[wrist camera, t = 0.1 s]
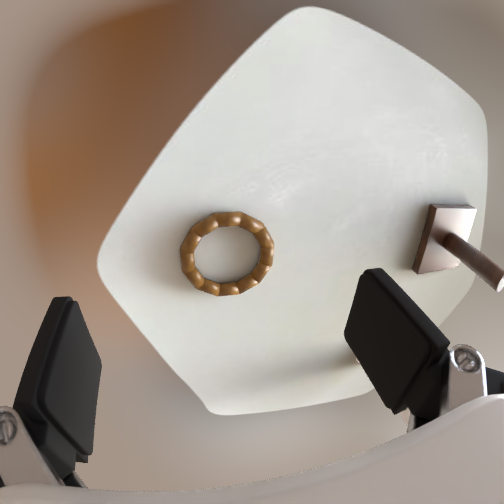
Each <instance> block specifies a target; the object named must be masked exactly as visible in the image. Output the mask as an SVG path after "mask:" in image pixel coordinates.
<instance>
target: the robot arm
mask: <svg viewBox="0 0 504 504" xmlns="http://www.w3.org/2000/svg"><path fill="white" fill-rule="evenodd" d="M344 337H345V340H346V341H347V343H348V345H349V346H350V348H351V349H352V351H353V353H354V354H355V356H356V358H357V359H358V361H359V363H360V364H361V366H362V367H363V369H364V371H365V372H366V374H367V376H368V377H369V379H370V381H371V382H372V384H373V386H374V387H375V389H376V391H377V392H378V394H379V396H380V397H381V399H382V401H383V402H384V404H385V406H386V407H387V408H389V409H391V410H392V412H393V413H394V415H395V414H397V413H400V412H402V411H404V410H406V409H407V408H408V409H409V410H410V417H409V423H408V428H407V433H406V434H404V435H402V436H400V437H398V438H395V439H393V440H391V441H389V442H386V443H384V444H382V445H379V446H377V447H374V448H372V449H369V450H367V451H364V452H362V453H359V454H357V455H354V456H351V457H348V458H345V459H342V460H339V461H336V462H333V463H330V464H327V465H324V466H320V467H317V468H314V469H310V470H307V471H303V472H299V473H295V474H291V475H287V476H283V477H279V478H274V479H269V480H264V481H259V482H253V483H247V484H241V485H235V486H227V487H220V488H211V489H200V490H188V491H164V492H137V491H111V490H97V489H88V488H87V486H86V485H85V484H84V483H83V481H82V480H81V479H80V477H79V476H78V475H77V473H76V472H75V462H83V463H88V455H91V454H92V452H93V439H94V425H95V415H96V405H97V398H98V390H99V389H98V388H99V382H100V375H101V368H102V364H101V359H100V357H99V354H98V352H97V350H96V348H95V345H94V343H93V340H92V338H91V336H90V333H89V331H88V328H87V326H86V323H85V321H84V318H83V315H82V313H81V310H80V308H79V304H78V302H77V301H73V300H72V298H71V297H55V298H53V300H52V302H51V304H50V306H49V308H48V311H47V313H46V315H45V317H44V320H43V322H42V325H41V327H40V329H39V332H38V334H37V337H36V339H35V342H34V344H33V347H32V349H31V352H30V355H29V357H28V360H27V363H26V366H25V369H24V372H23V375H22V378H21V381H20V384H19V387H18V390H17V394H16V397H15V401H14V404H13V408H11V407H8V406H0V504H504V373H503V372H500V371H497V370H493V369H490V368H487V367H485V366H484V361H483V358H482V357H481V355H480V353H478V351H477V350H475V349H474V348H472V347H471V346H468V345H464V344H458V345H455V346H454V347H452V349H451V350H450V351H449V350H448V349H447V347H448V346H449V344H450V341H449V340H448V339H447V338H446V337H445V336H444V334H443V333H442V332H441V331H440V330H439V329H438V328H437V326H436V325H435V324H434V323H433V322H432V321H431V320H430V319H429V318H428V316H427V315H426V314H425V313H424V312H423V311H422V310H421V309H420V308H419V307H418V305H417V304H416V303H415V302H414V301H413V300H412V299H411V298H410V297H409V296H408V295H407V294H406V293H405V292H404V291H403V290H402V288H401V287H400V286H399V285H398V284H397V283H396V282H395V281H394V280H393V279H392V278H391V277H390V276H389V275H388V274H387V273H386V272H385V271H384V270H383V269H381V268H375V269H367V270H365V271H364V273H363V274H362V275H361V276H360V278H359V281H358V285H357V289H356V293H355V296H354V300H353V303H352V307H351V310H350V314H349V317H348V320H347V324H346V327H345V330H344Z"/></svg>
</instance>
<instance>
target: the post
mask: <svg viewBox="0 0 504 504" xmlns="http://www.w3.org/2000/svg"><path fill="white" fill-rule="evenodd" d="M476 210H477V209H476V208H474V207H472V206H468V205H443V204H431V205H430V209H429V213H428V217H427V221H426V224H425V228H424V232H423V235H422V239H421V242H420V246H419V249H418V252H417V256H416V259H415V262H414V265H413V268H412V270H413V271H414V272H415V273H416V274H422V273H428V272H433V271H439V270H444V269H449V268H454V267H458V265H459V263H460V261H461V262H463V263H464V264H465V265H466V266H467V267H469V268H470V269H471V270H472V271H474V272H475V273H476V274H477V275H478V276H479V277H481V278H482V279H483V280H484V281H485V282H487V283H488V284H489V285H490V286H491V287H492V288H493V289H494V290H495V291H497V292H499V291H501V289H503V287H504V270H503V269H501V268H500V267H499V266H498V265H496V264H495V263H494V262H492V261H491V260H490V259H489V258H487V257H486V256H485V255H484V254H482V253H481V252H480V251H478V250H477V249H476V248H474V247H473V246H472V245H470V244H469V243H467V240H468V237H469V233H470V230H471V227H472V224H473V220H474V217H475V213H476Z"/></svg>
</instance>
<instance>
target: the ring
mask: <svg viewBox="0 0 504 504" xmlns="http://www.w3.org/2000/svg"><path fill="white" fill-rule="evenodd" d="M228 226H239V227H241V228H243V229H245V230H247V231H249V232H251V233H253V234H254V236H255V237H256V239H257V241H258V242H259V244H260V246H261V248H260V261H259V262H258V264H257V265H256V267H255V268H254V270H253V271H252V273H251V274H249V275H247V276H246V277H244V278H242V279H241V280H239V281H237V282H231V283H220V284H219V283H216V282H213V281H211V280H208V279H205V278H204V277H203V276H202V275H201V274H200V272H199V271H198V270H197V269H196V267H195V262H194V250H195V249H196V247H197V245H198V243H199V242H200V240H201V238H202V237H203V236H205V235H206V234H208V233H210V232H211V231H213V230H215V229H216V228H218V227H228ZM273 251H274V242H273V240H272V238H271V236H270V234H269V233H268V231H267V229H266V227H265V226H264V224H263V223H262V222H260V221H258V220H257V219H255V218H253V217H251V216H249V215H247V214H245V213H243V212H223V213H214V214H212V215H210V216H208V217H207V218H205V219H203V220H202V221H200V222H199V223H197V224H195V225H194V226H192V227H191V229H190V231H189V232H188V234H187V236H186V238H185V240H184V242H183V244H182V245H181V247H180V256H181V267H182V272H183V273H184V275H185V276H186V277H187V278H188V279H189V281H190V282H191V283H192V284H193V285H194V287H195V288H196V289H198V290H201V291H204V292H207V293H209V294H212V295H215V296H227V295H237V294H241V293H243V292H245V291H246V290H248V289H250V288H252V287H254V286H255V285H257V284H259V283H260V282H261V280H262V279H263V277H264V276H265V275H266V273H267V272H268V270H269V269H270V267H271V266H272V263H273Z"/></svg>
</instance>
